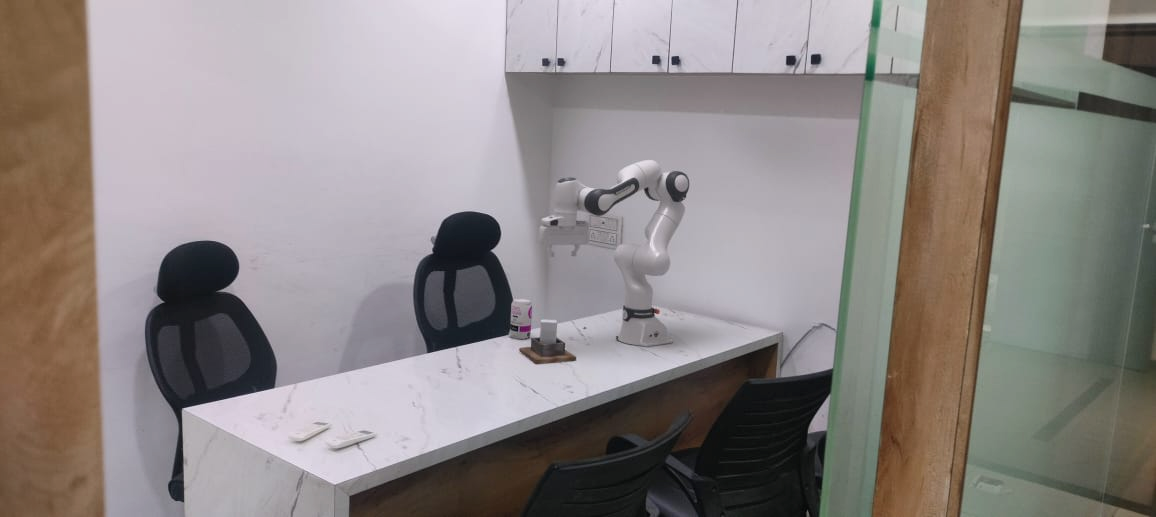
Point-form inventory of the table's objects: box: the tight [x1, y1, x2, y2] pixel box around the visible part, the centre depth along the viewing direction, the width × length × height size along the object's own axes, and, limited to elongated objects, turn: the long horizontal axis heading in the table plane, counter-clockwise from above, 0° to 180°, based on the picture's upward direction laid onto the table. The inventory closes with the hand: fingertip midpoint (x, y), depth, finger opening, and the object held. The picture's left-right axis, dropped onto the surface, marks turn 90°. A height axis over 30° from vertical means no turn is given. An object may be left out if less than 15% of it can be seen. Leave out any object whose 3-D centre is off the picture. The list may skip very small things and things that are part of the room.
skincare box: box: [539, 318, 558, 344], centre depth 292 cm, size 6×4×12 cm
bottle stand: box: [518, 336, 577, 365], centre depth 292 cm, size 16×16×6 cm
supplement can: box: [509, 297, 533, 340], centre depth 316 cm, size 8×8×15 cm
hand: (562, 256), depth 303 cm, fingers open, 8 cm apart
